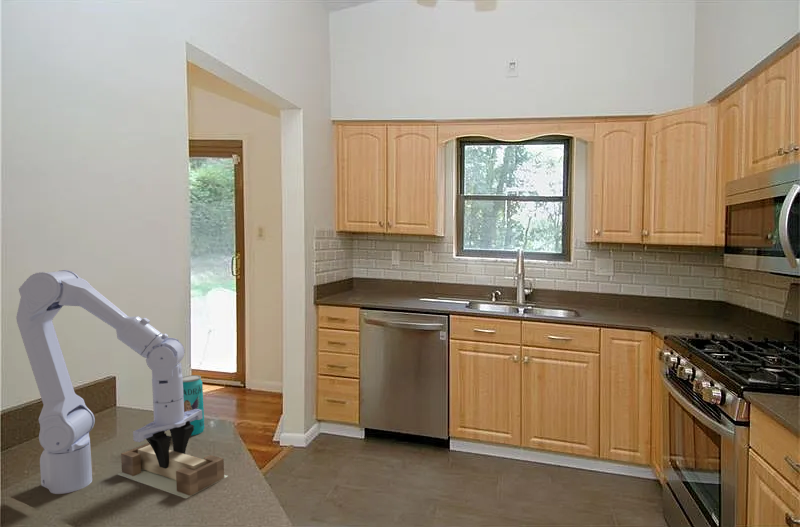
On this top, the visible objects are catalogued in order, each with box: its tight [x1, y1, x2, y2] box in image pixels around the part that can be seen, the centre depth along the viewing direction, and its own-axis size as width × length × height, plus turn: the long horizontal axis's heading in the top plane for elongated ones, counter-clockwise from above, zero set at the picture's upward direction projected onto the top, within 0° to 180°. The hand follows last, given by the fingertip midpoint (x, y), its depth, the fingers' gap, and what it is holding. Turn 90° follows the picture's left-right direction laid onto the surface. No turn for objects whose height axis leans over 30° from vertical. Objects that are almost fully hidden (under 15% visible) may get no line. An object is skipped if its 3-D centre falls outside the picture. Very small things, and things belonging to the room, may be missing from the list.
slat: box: [138, 445, 206, 480], centre depth 103 cm, size 18×3×4 cm, turn 60°
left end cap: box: [120, 442, 150, 476], centre depth 108 cm, size 4×8×4 cm, turn 150°
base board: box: [116, 469, 229, 499], centre depth 103 cm, size 22×10×1 cm, turn 60°
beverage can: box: [183, 374, 205, 437], centre depth 127 cm, size 6×6×15 cm
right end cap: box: [176, 454, 225, 497], centre depth 99 cm, size 4×8×4 cm, turn 150°
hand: (171, 463), depth 103 cm, fingers closed on slat, 3 cm apart
